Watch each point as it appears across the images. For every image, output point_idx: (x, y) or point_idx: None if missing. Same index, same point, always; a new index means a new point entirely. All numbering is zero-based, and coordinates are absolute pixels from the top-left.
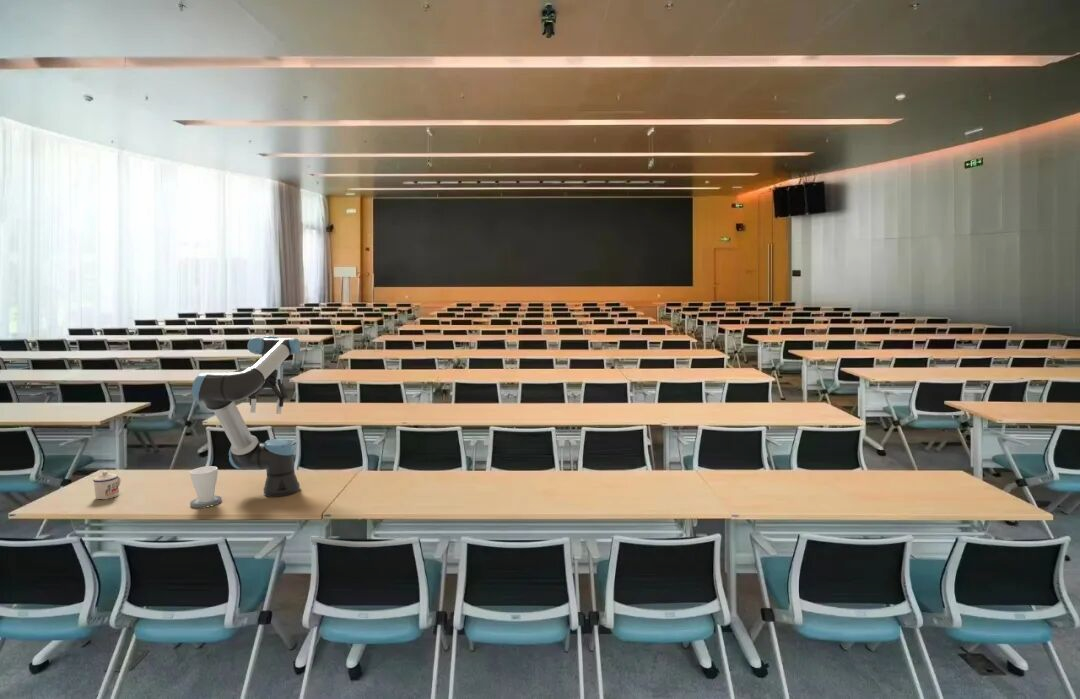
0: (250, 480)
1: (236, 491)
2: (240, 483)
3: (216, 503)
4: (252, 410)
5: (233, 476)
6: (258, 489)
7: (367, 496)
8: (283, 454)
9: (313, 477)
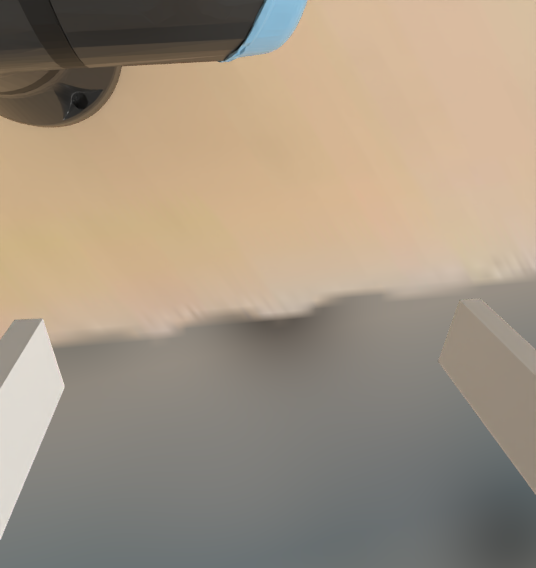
0: (295, 177)
1: None
2: (314, 132)
3: None
4: (472, 327)
5: (395, 215)
6: None
7: None
8: None
9: (33, 255)
